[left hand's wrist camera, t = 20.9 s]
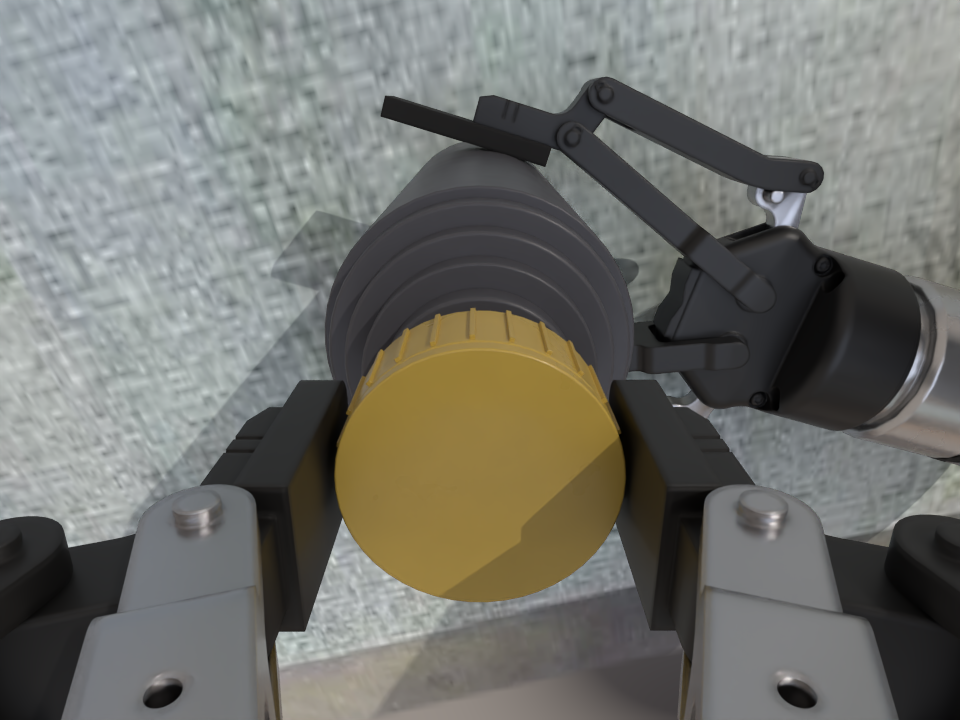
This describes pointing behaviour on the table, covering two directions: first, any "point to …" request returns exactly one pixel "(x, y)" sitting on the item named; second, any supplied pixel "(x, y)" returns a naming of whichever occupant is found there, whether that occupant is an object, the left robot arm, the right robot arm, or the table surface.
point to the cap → (480, 458)
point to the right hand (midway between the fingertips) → (365, 207)
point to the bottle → (478, 265)
